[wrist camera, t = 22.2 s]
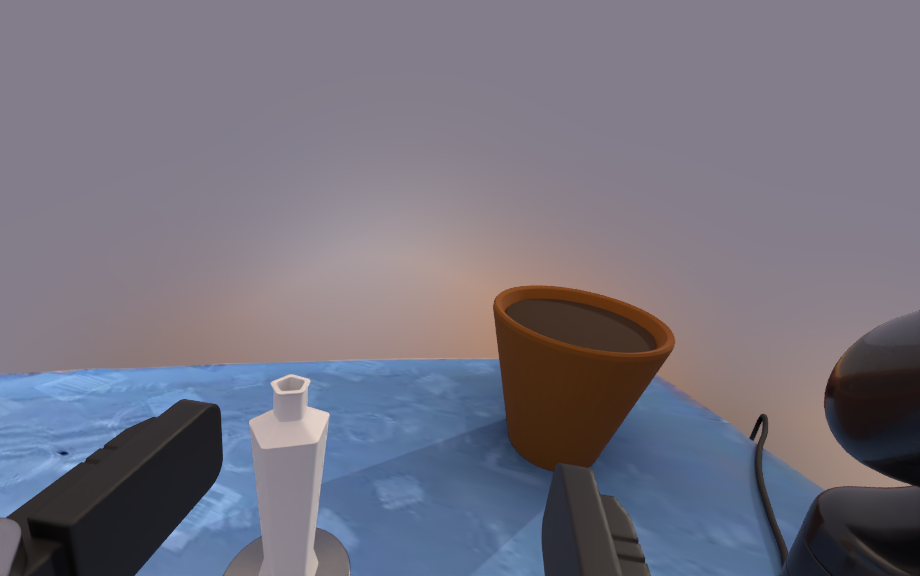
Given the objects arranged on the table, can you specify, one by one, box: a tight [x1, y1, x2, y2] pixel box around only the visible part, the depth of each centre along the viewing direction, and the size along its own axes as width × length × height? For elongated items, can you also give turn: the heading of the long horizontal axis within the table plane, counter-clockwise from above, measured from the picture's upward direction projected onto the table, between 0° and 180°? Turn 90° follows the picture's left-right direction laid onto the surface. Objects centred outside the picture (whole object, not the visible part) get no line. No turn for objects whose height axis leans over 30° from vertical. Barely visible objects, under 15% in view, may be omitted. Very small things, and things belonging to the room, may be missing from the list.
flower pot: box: [493, 286, 675, 471], centre depth 62 cm, size 24×24×20 cm
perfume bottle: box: [249, 375, 329, 576], centre depth 27 cm, size 5×4×15 cm
